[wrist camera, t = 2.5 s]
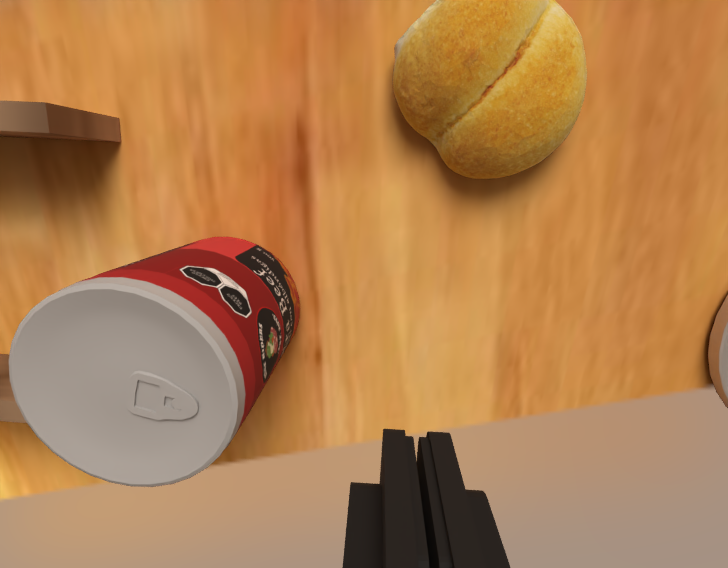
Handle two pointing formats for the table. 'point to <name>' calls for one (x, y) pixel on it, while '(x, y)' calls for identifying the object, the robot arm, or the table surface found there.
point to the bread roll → (491, 82)
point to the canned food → (154, 359)
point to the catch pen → (50, 125)
